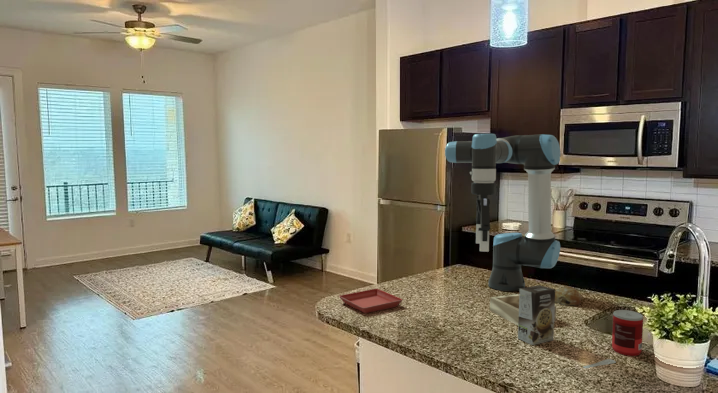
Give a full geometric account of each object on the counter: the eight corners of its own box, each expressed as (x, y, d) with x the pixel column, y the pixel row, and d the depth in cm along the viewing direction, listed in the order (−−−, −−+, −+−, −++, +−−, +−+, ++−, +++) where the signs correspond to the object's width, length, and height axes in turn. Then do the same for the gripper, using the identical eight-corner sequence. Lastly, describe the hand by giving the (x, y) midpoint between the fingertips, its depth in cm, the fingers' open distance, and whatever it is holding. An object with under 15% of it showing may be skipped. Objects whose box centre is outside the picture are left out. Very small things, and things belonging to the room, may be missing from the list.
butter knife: (619, 362, 135) (609, 358, 138) (553, 378, 126) (544, 374, 128) (619, 363, 135) (609, 359, 138) (553, 380, 126) (544, 375, 128)
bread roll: (552, 312, 190) (553, 296, 186) (553, 294, 198) (553, 278, 194) (580, 315, 186) (582, 298, 182) (580, 297, 194) (581, 281, 190)
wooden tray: (524, 306, 185) (524, 293, 184) (555, 321, 169) (556, 306, 168) (489, 310, 180) (489, 297, 179) (519, 326, 164) (519, 311, 163)
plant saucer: (363, 316, 175) (363, 307, 175) (338, 303, 190) (338, 295, 190) (403, 308, 185) (403, 299, 185) (376, 296, 200) (376, 288, 200)
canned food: (634, 346, 147) (635, 310, 146) (646, 357, 139) (648, 319, 138) (607, 345, 148) (608, 309, 147) (618, 356, 140) (620, 318, 139)
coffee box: (533, 345, 147) (534, 293, 146) (517, 338, 153) (518, 287, 151) (554, 340, 151) (556, 289, 150) (538, 333, 157) (539, 284, 156)
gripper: (468, 179, 171) (467, 240, 173) (474, 184, 147) (473, 254, 148) (490, 180, 170) (489, 240, 172) (500, 184, 145) (499, 255, 147)
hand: (482, 247), depth 160 cm, fingers open, 13 cm apart
